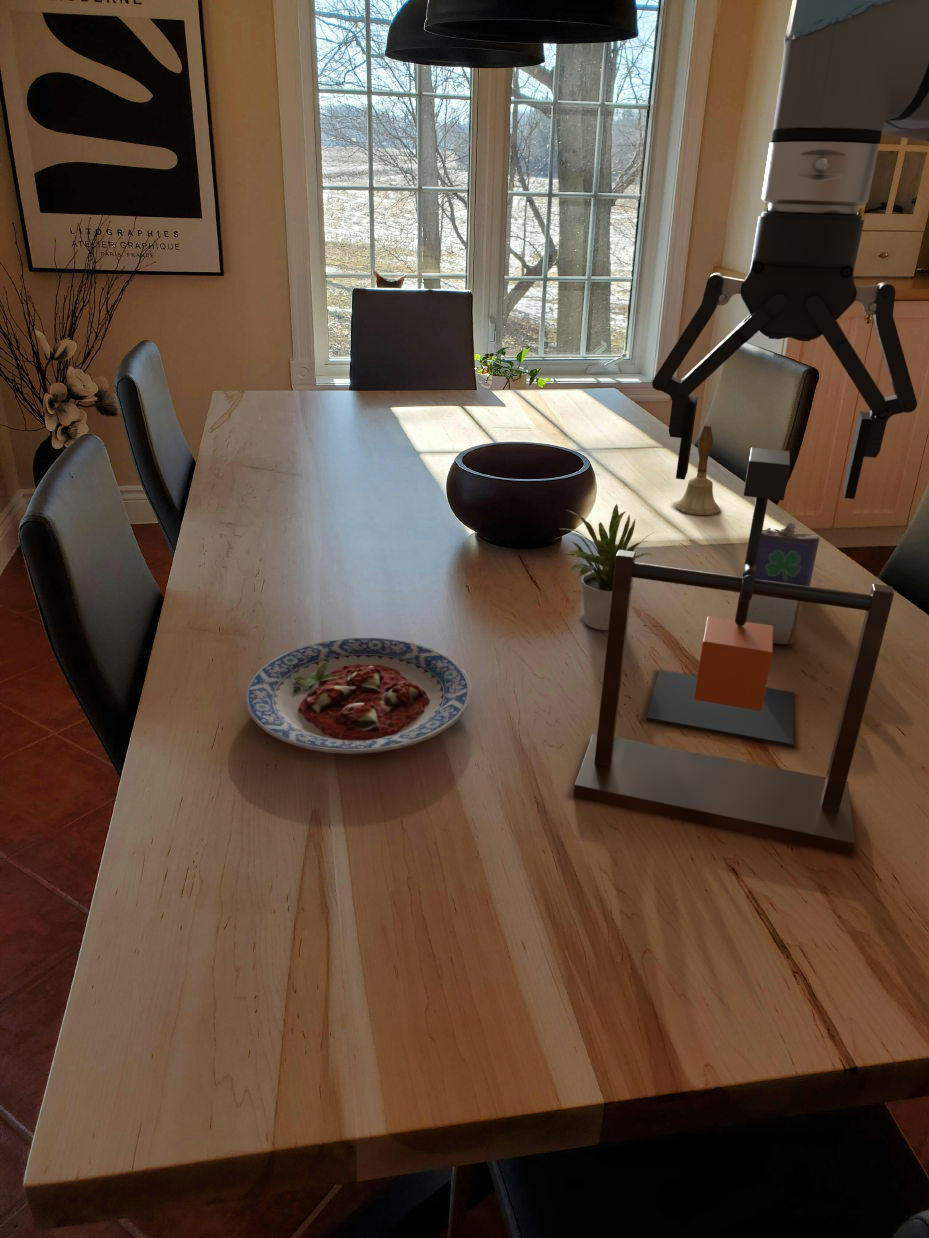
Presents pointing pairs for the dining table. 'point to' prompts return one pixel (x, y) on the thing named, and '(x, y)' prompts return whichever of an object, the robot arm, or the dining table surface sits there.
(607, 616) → the house plant
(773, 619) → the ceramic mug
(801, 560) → the flask
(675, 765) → the rack
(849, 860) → the dining table surface
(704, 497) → the hand bell
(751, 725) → the mat
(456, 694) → the ceramic plate
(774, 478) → the orange block with hook
